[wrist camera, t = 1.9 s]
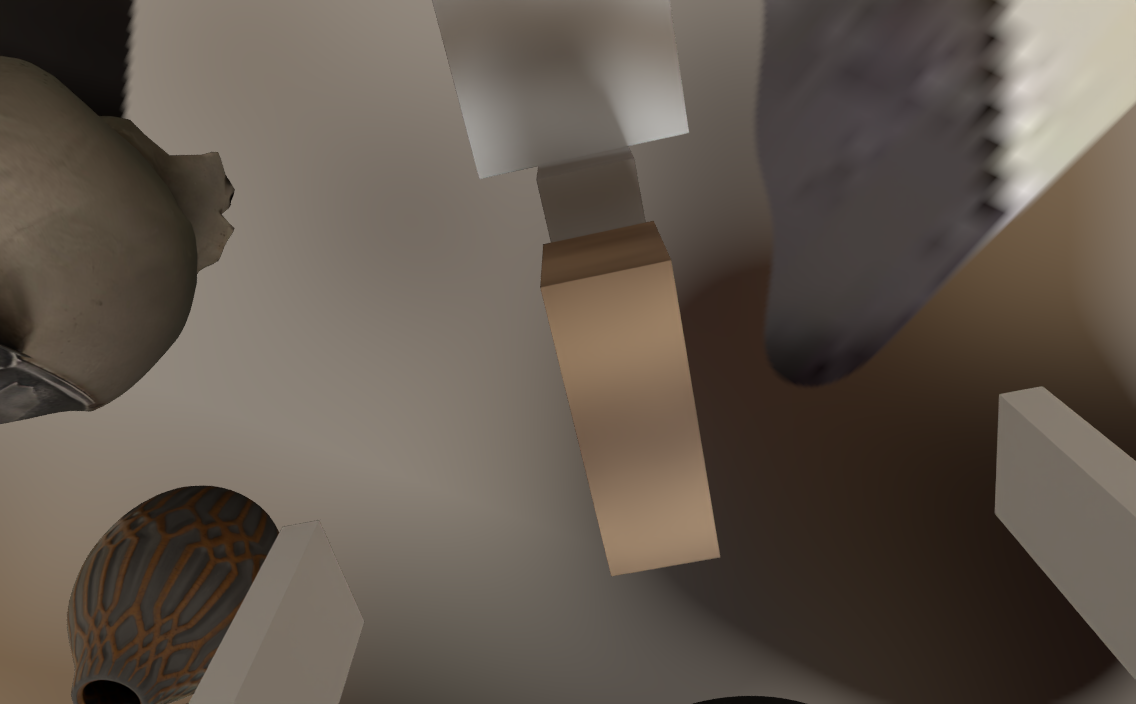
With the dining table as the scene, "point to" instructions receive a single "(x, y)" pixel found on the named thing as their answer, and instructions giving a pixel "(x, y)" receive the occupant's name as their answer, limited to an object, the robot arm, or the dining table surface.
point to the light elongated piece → (598, 244)
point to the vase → (163, 594)
